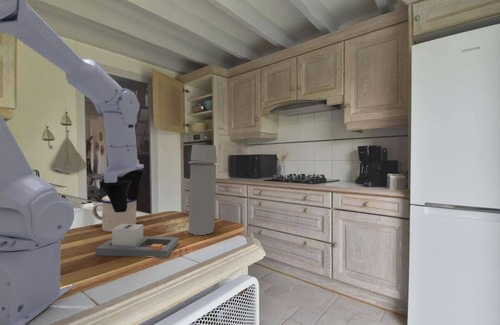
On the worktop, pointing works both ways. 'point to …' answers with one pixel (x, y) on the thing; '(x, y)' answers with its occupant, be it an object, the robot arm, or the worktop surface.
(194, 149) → the water bottle
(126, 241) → the block
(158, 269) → the worktop surface
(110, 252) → the grey divided tray
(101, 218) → the teacup with lid
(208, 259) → the worktop surface
